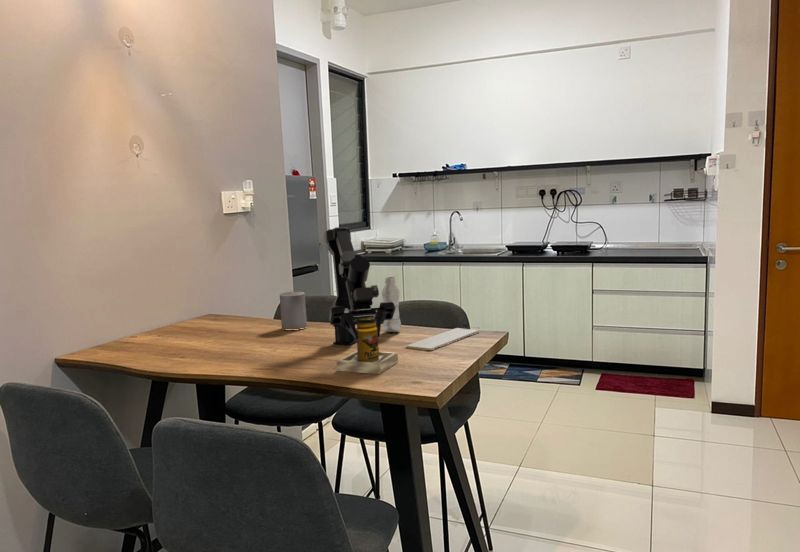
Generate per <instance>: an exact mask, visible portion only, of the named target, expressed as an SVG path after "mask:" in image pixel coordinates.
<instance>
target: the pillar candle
mask: <svg viewBox="0 0 800 552" xmlns="http://www.w3.org/2000/svg"><path fill="white" fill-rule="evenodd" d="M279 305H280V321H281V330H282V329H300V328H305V327H308V321H307V319H308V318H307V309H306V308H307V307H306V293H305V292H303V291H289V292H288V291H287V292H282V293H280V294H279ZM305 329H306V328H305Z"/></svg>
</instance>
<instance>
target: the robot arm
mask: <svg viewBox="0 0 800 552" xmlns="http://www.w3.org/2000/svg"><path fill="white" fill-rule="evenodd" d="M323 240H324V244H326V249H327V252H329V254H331V256H332V263H333V271H334V272H333V273H334V280H335V281H334V282H335V289H336V291H335V292H336V299H335V300H334V302H333V305H332V306H331V307H330V310H329V316H328V317H329V319H328V320H329V325H332V327H334V336H335V337H334V338H335V339H334V340H335V341H333V342H332V344H333V345H334V344H335V345H352V344H354V343H357V338H358V336H357V331H356V329H357V327H356V326H357V319H359V318H360V317H371V316H374V318H375V321H376V327H377V330H378V338H379V337H380V333H381V327H382V326H381V325H382V323H383V322H384V321H385V320H390V319H392V318H393V315H394V312H395V305H394V303H393V302H383V301H382V302H379V307H372V306H373V303H374V302H373V299H374V298H378V297H379V295H380V291H379V288H378V287H379V286H378V285H377V284H375V285H370V286H368V287H367V285H366V282H367V280H368V275H369V271H370V267H371V264H370V261H369V260H368V259H367V258H364V257H362V255H361V254H358V253H357V252H355V248H354V245H353V242H352V235H351V229H350V228H349V227H347V226H341V227H340V226H339V227H336V226H335V227H334V228H332V229H331V228H330V229H327V230H326V231H325V232H324V233H323Z"/></svg>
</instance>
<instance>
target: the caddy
mask: <svg viewBox="0 0 800 552" xmlns="http://www.w3.org/2000/svg"><path fill="white" fill-rule="evenodd" d="M355 355H358V351H357V350H355V351H352V352H351V353H349V354H348V355H345V356H344V357H341V358H340V359H338V360H336V371H337V372H349V373H361V374H374V375H375V374H376V375H377V374H378V375H380V374H382V373H383V372H385V371H386V370H388V369H389V368H392V366H395V365H396V364H397V363H399V353H398V352H391V351H379V356H383V357H382V358H381V359H380V360H379V361H378V362H377V363H373V362H359V361H350V360H351V359H353V357H355Z"/></svg>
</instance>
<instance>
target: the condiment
mask: <svg viewBox="0 0 800 552" xmlns="http://www.w3.org/2000/svg"><path fill="white" fill-rule="evenodd" d="M356 331H357V336H358V338H357V341H356V345H357V346H356V347H357V348H356V349H357V350H356V351H358V355H355V357H353V359H351V360H350V361H359V362H373V363H377V362H378V361H379V360H380V359H381V358H382V357H383V356H379V352H380V351H379V350H380V349H379V337H378V330H377V327H376V321H375V317H373V316H362V317H359V319H357V325H356Z"/></svg>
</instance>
